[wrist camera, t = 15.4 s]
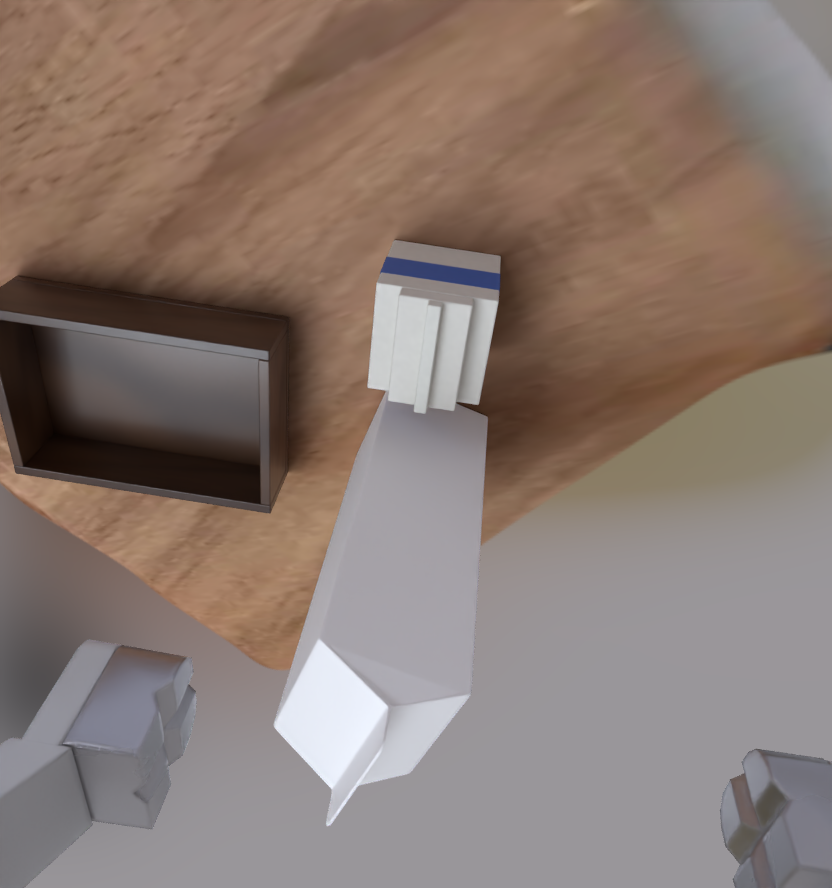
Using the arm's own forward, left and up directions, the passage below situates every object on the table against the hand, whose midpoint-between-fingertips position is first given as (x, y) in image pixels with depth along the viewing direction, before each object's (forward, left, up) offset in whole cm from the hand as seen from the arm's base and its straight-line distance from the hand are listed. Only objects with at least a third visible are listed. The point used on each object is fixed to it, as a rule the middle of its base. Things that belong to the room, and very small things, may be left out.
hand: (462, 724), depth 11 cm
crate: (+14, -18, -29) cm, 37 cm away
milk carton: (+6, -2, -29) cm, 30 cm away
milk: (+15, -2, -29) cm, 33 cm away
